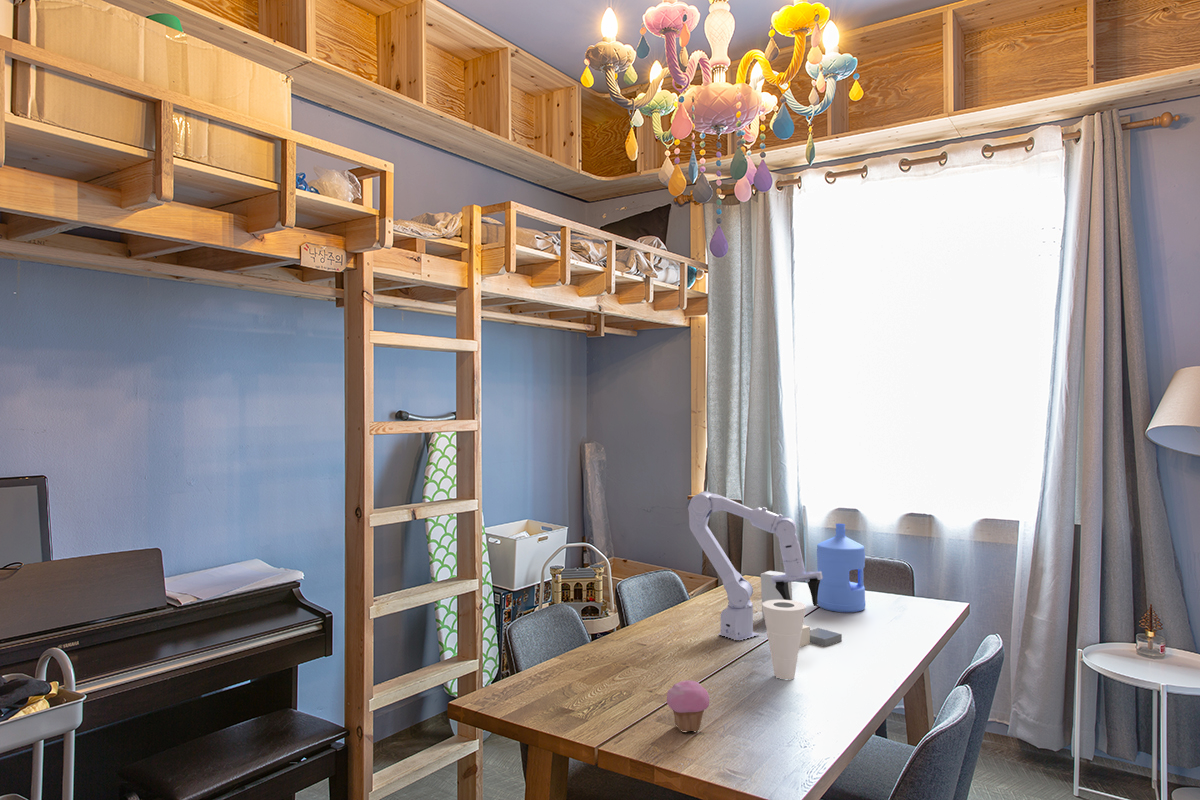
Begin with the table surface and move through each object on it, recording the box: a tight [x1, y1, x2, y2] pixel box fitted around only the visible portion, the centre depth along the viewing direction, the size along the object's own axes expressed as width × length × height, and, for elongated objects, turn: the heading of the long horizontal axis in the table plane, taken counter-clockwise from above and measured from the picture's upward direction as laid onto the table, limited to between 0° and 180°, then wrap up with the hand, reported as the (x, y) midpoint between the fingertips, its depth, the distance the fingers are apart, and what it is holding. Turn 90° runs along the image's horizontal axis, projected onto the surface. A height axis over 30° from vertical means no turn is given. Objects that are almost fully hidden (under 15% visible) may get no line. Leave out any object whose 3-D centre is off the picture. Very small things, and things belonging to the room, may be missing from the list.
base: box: [810, 627, 843, 647], centre depth 218 cm, size 8×8×2 cm
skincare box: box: [760, 570, 793, 620], centre depth 240 cm, size 8×6×15 cm
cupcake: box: [666, 679, 710, 732], centre depth 157 cm, size 9×9×10 cm
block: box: [799, 624, 811, 647], centre depth 215 cm, size 4×4×5 cm
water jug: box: [816, 523, 866, 613], centre depth 255 cm, size 16×16×28 cm
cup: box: [761, 599, 807, 680], centre depth 188 cm, size 11×11×18 cm
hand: (802, 606), depth 217 cm, fingers open, 7 cm apart
